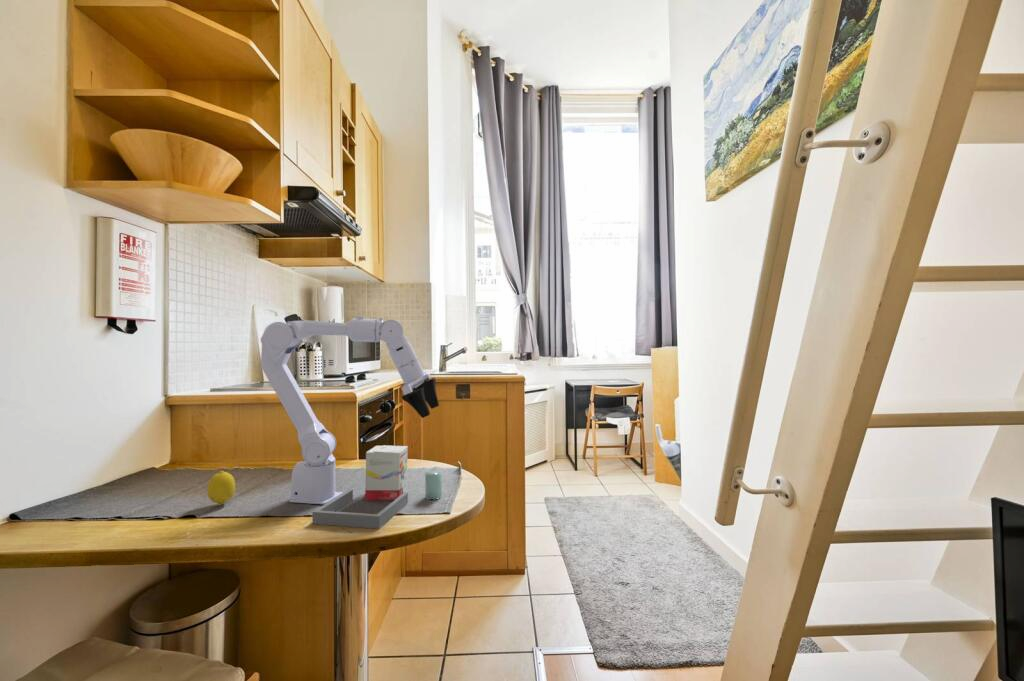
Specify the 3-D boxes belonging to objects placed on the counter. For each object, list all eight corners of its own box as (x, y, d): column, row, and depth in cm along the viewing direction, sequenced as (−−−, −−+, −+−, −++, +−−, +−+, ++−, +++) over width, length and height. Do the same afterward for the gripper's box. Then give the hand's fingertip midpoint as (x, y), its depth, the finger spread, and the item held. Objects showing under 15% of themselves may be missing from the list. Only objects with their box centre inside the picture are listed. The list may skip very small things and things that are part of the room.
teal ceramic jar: (422, 499, 112) (422, 474, 113) (428, 494, 116) (428, 470, 116) (438, 500, 112) (438, 475, 112) (443, 495, 116) (443, 471, 116)
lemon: (235, 506, 107) (236, 471, 107) (207, 511, 104) (207, 475, 104) (234, 499, 112) (234, 466, 112) (207, 503, 109) (207, 470, 109)
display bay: (312, 523, 97) (312, 511, 97) (348, 499, 112) (349, 489, 112) (379, 528, 95) (379, 516, 95) (407, 503, 109) (407, 493, 109)
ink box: (399, 501, 111) (399, 452, 111) (364, 500, 111) (364, 451, 111) (408, 490, 120) (408, 444, 120) (375, 489, 120) (375, 444, 120)
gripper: (410, 363, 109) (435, 414, 110) (429, 352, 123) (452, 397, 124) (385, 375, 111) (410, 425, 112) (407, 362, 125) (429, 407, 126)
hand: (430, 411), depth 118 cm, fingers open, 7 cm apart
